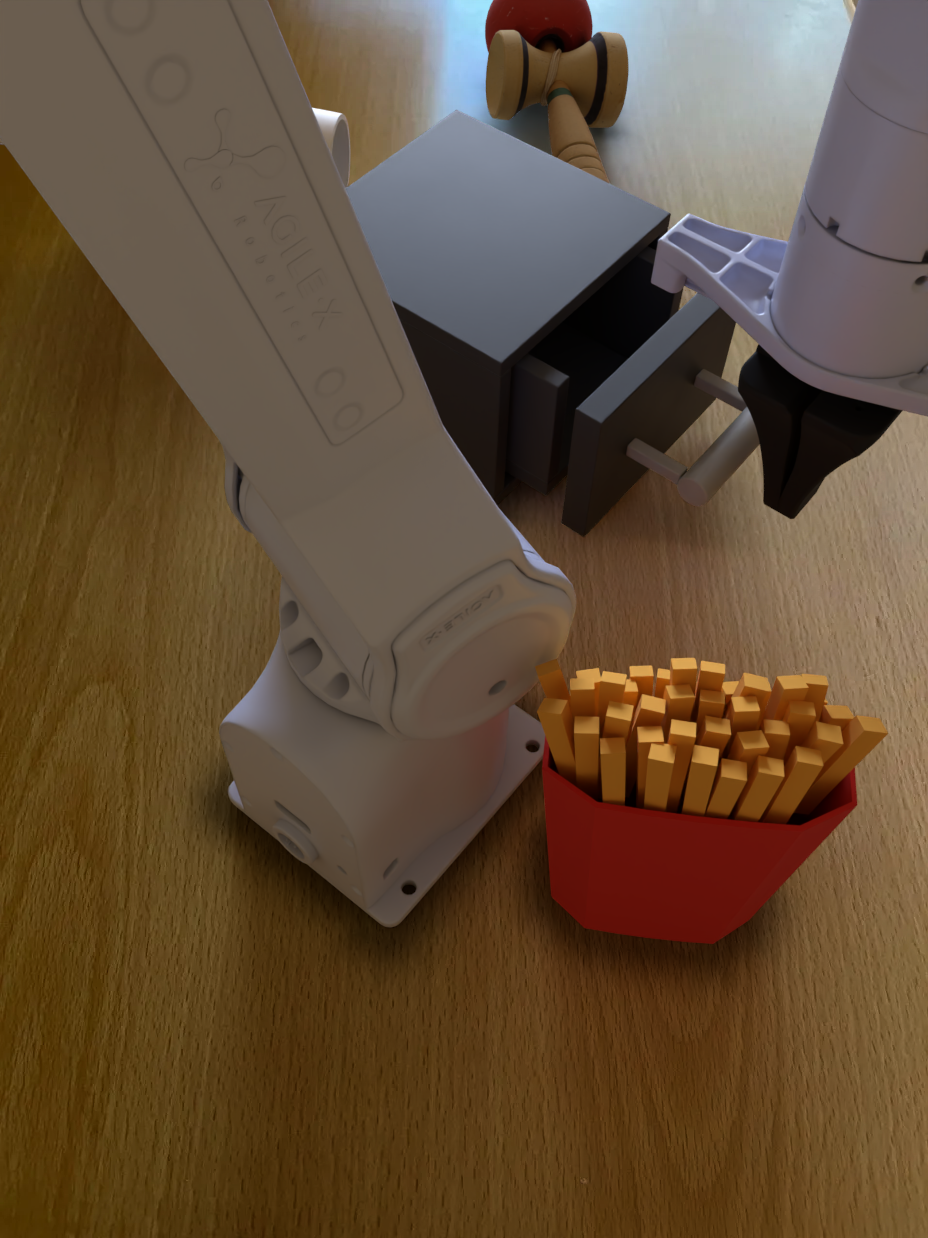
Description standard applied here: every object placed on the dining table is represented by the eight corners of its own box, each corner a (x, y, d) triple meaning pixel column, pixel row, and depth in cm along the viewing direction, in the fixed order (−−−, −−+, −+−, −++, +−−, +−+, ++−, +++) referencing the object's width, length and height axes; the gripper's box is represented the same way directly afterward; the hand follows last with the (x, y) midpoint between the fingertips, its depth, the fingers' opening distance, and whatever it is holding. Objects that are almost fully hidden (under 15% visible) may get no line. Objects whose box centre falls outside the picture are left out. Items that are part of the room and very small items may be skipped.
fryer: (643, 364, 55) (671, 212, 48) (493, 509, 50) (501, 363, 43) (455, 262, 59) (456, 108, 52) (299, 387, 54) (277, 235, 47)
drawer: (792, 440, 51) (833, 322, 46) (663, 587, 47) (692, 476, 41) (531, 299, 56) (540, 177, 51) (392, 419, 52) (385, 300, 46)
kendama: (673, 254, 62) (600, 24, 69) (675, 162, 56) (595, -78, 64) (528, 288, 62) (472, 55, 70) (516, 200, 56) (455, -42, 64)
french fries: (774, 839, 42) (887, 640, 31) (777, 957, 39) (901, 787, 29) (517, 809, 42) (541, 603, 32) (505, 924, 40) (526, 744, 29)
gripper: (1188, 236, 34) (1005, 527, 46) (760, 56, 39) (690, 358, 51) (1093, 367, 31) (922, 645, 42) (641, 154, 36) (595, 452, 47)
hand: (790, 496), depth 46 cm, fingers closed
